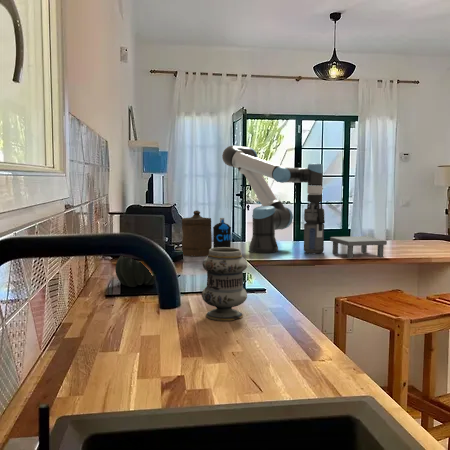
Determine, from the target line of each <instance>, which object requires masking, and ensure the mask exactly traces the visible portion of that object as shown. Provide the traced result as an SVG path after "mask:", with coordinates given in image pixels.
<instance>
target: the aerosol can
mask: <svg viewBox="0 0 450 450" xmlns="http://www.w3.org/2000/svg"><path fill="white" fill-rule="evenodd" d="M212 230H213V231H212V232H213V235H212V236H213V237H212V238H213V239H212V246H213V247H212V248H218V247H231V246H232V245H231V243H232V241H231V239H232V238H231V236H232V235H231V234H232V232H231V230H232V226H230V225H229V224H228V223H226V222H225V217H220V218H219V222H218V223H216V224H214V226H212ZM231 248H232V247H231Z"/></svg>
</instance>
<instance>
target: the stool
mask: <svg viewBox="0 0 450 450" xmlns="http://www.w3.org/2000/svg"><path fill="white" fill-rule="evenodd" d="M329 238H330V239H329V241H330V242H332V254H339V244H340V245H343V246H347V251H346V254H347V255H346V257H347V259H353V258H354V246H356V247H359V246H361V249H360V251H361V253H367V252H368V249H367V248H368V246H377V251H376V252H377V255H376V256H377V257H378V258H384V249H385V248H384V246H387V244H388V243H387V242H388V240H384V239H381V238H376V237H375V238H374V237H371V236H367V235H365V236H359V235H358V236H330V237H329Z"/></svg>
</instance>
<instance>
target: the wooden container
mask: <svg viewBox="0 0 450 450" xmlns="http://www.w3.org/2000/svg"><path fill="white" fill-rule="evenodd" d="M181 223H182V224H181V247H182V248H181V252H182V251H183V255H182V256H185V257H208V254H209V250H210V249H211V248H213V247H212V246H213V239H212V238H213V237H212V236H213V235H212V218H210V217H202V216H201V211H200V210H194V211H193V214H192V216H191V217H183V218H181Z"/></svg>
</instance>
